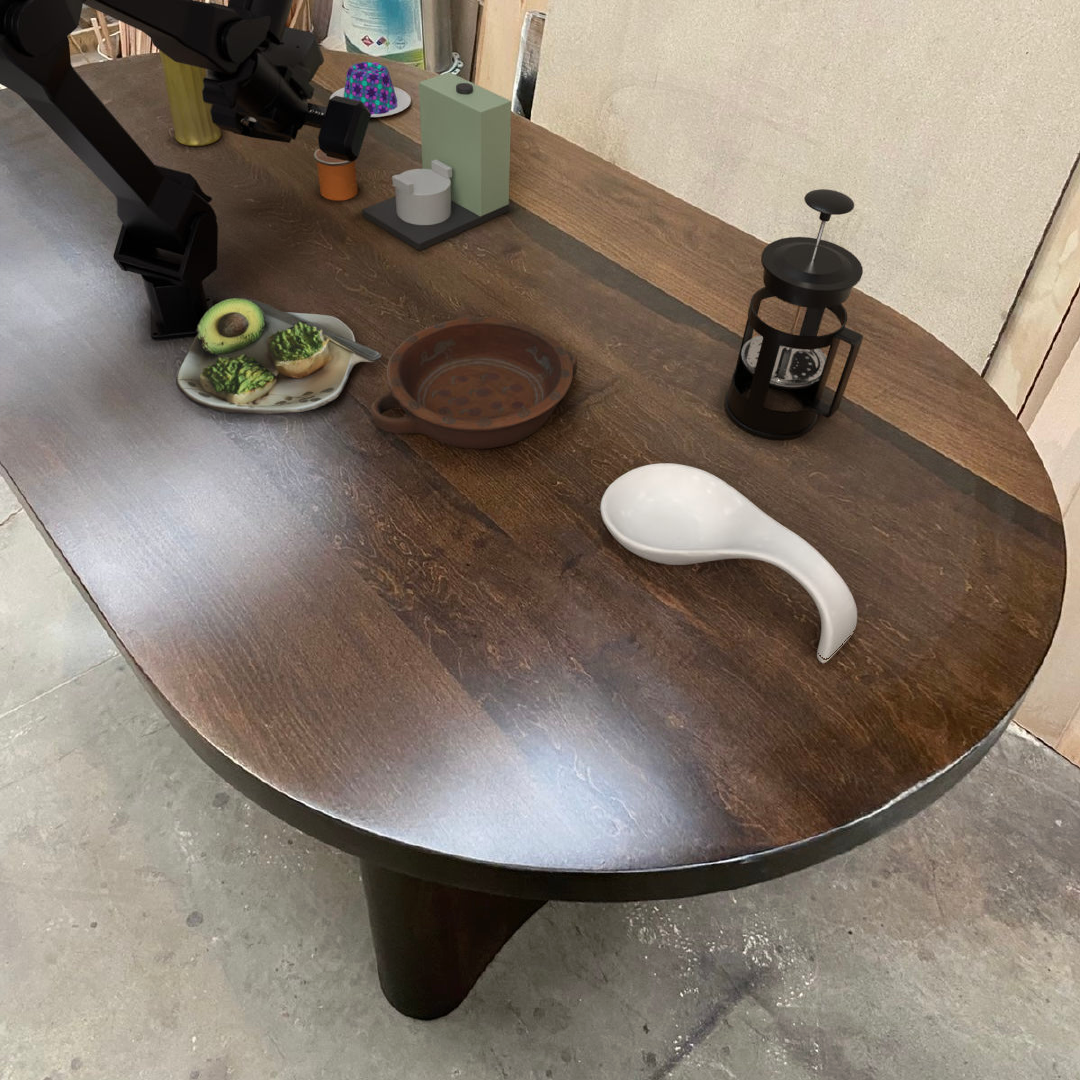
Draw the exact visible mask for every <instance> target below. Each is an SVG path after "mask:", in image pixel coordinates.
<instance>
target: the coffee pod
mask: <svg viewBox="0 0 1080 1080" xmlns="http://www.w3.org/2000/svg"><path fill="white" fill-rule="evenodd" d="M326 155H327V154H325V153H323V152H322V151H321V150H320V149H319V148H318V149H316V150H315V151H314V154H313V157H314V160H315V161H316V169H317V176H318V177H317V178H318V184H319V193H320V195H321V196H322V197H323V198H325V199H327V200H330V201H347V200H350V199H353V198H354V197H356V195H357V194H358V192H359V189H358V178H357V169H356V160H354V161H353V162H351V161H344V160H340V159H336V158H332V157H328V156H326Z"/></svg>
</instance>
